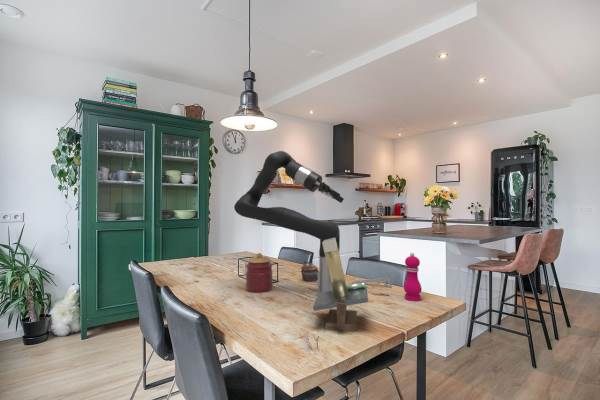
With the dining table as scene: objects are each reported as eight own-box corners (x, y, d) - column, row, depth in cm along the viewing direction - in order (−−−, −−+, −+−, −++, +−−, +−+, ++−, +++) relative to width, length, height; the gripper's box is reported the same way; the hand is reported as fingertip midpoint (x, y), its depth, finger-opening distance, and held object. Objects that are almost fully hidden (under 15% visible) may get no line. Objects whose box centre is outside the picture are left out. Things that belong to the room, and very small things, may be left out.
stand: (324, 332, 100) (324, 302, 100) (330, 311, 120) (330, 287, 120) (356, 334, 98) (356, 304, 99) (356, 313, 118) (356, 288, 118)
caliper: (391, 288, 154) (391, 275, 154) (390, 288, 153) (390, 275, 153) (352, 282, 165) (352, 270, 165) (351, 283, 164) (351, 271, 164)
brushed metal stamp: (313, 310, 103) (300, 247, 104) (319, 296, 119) (307, 242, 120) (368, 302, 100) (353, 237, 101) (367, 288, 115) (354, 232, 116)
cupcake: (307, 283, 163) (307, 264, 164) (298, 279, 172) (298, 261, 172) (322, 280, 169) (322, 262, 169) (312, 277, 177) (312, 259, 177)
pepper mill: (401, 296, 139) (400, 251, 139) (417, 296, 139) (416, 251, 139) (408, 301, 131) (407, 254, 132) (424, 301, 132) (424, 253, 132)
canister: (278, 288, 155) (277, 252, 155) (261, 294, 144) (261, 256, 144) (257, 284, 162) (257, 250, 162) (240, 290, 151) (240, 253, 151)
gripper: (307, 190, 136) (338, 209, 130) (298, 182, 122) (332, 203, 117) (317, 175, 136) (348, 194, 130) (308, 166, 122) (343, 187, 117)
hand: (340, 198), depth 123 cm, fingers open, 8 cm apart
